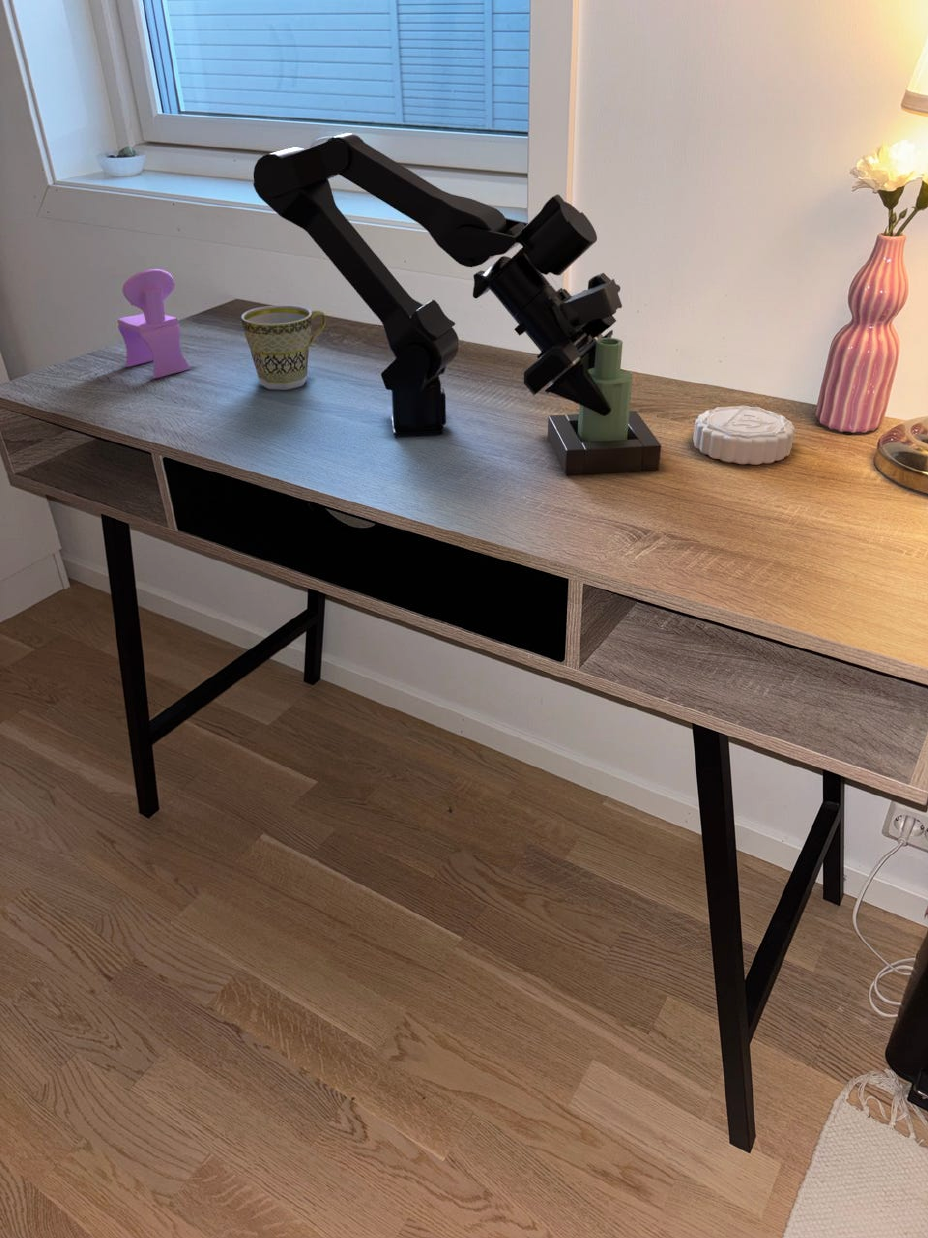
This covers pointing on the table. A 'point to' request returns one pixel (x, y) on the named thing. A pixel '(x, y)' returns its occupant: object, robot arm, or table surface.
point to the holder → (603, 448)
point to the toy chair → (152, 324)
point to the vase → (608, 395)
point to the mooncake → (743, 435)
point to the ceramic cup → (280, 343)
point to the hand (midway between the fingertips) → (615, 404)
